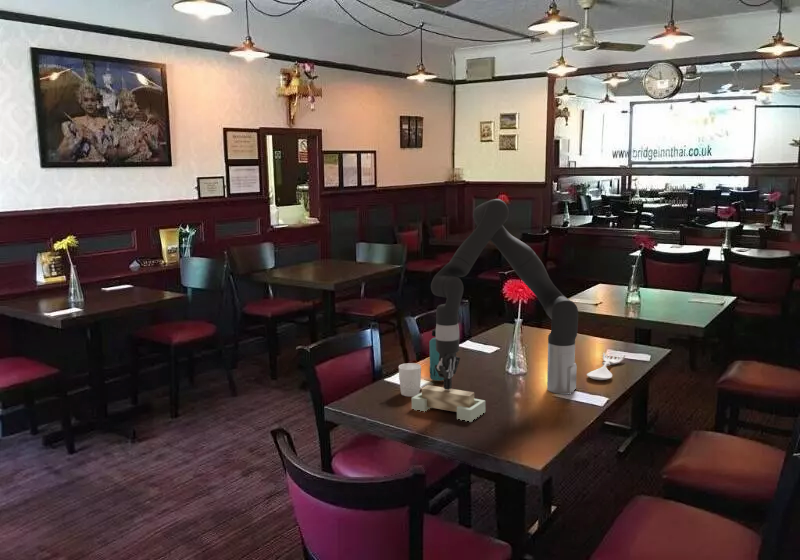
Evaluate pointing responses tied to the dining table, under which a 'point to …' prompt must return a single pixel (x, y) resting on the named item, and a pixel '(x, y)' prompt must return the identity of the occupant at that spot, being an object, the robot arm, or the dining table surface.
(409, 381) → the white cup
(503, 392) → the dining table surface
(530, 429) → the dining table surface
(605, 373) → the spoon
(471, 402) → the wooden block
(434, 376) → the beverage bottle
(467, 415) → the end cap
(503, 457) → the dining table surface
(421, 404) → the end cap
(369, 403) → the dining table surface
